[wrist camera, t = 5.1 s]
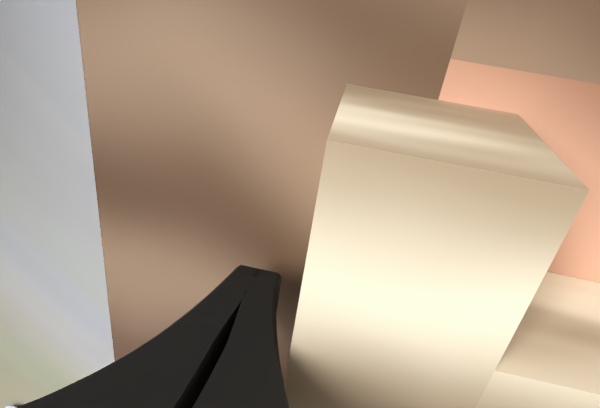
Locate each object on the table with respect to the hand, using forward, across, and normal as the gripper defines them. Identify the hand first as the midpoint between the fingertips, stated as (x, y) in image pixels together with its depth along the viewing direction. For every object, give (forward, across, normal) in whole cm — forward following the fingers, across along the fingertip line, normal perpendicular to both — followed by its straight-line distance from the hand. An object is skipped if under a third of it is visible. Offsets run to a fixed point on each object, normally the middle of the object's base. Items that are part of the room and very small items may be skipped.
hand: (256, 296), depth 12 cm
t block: (+1, -7, 0) cm, 7 cm away
